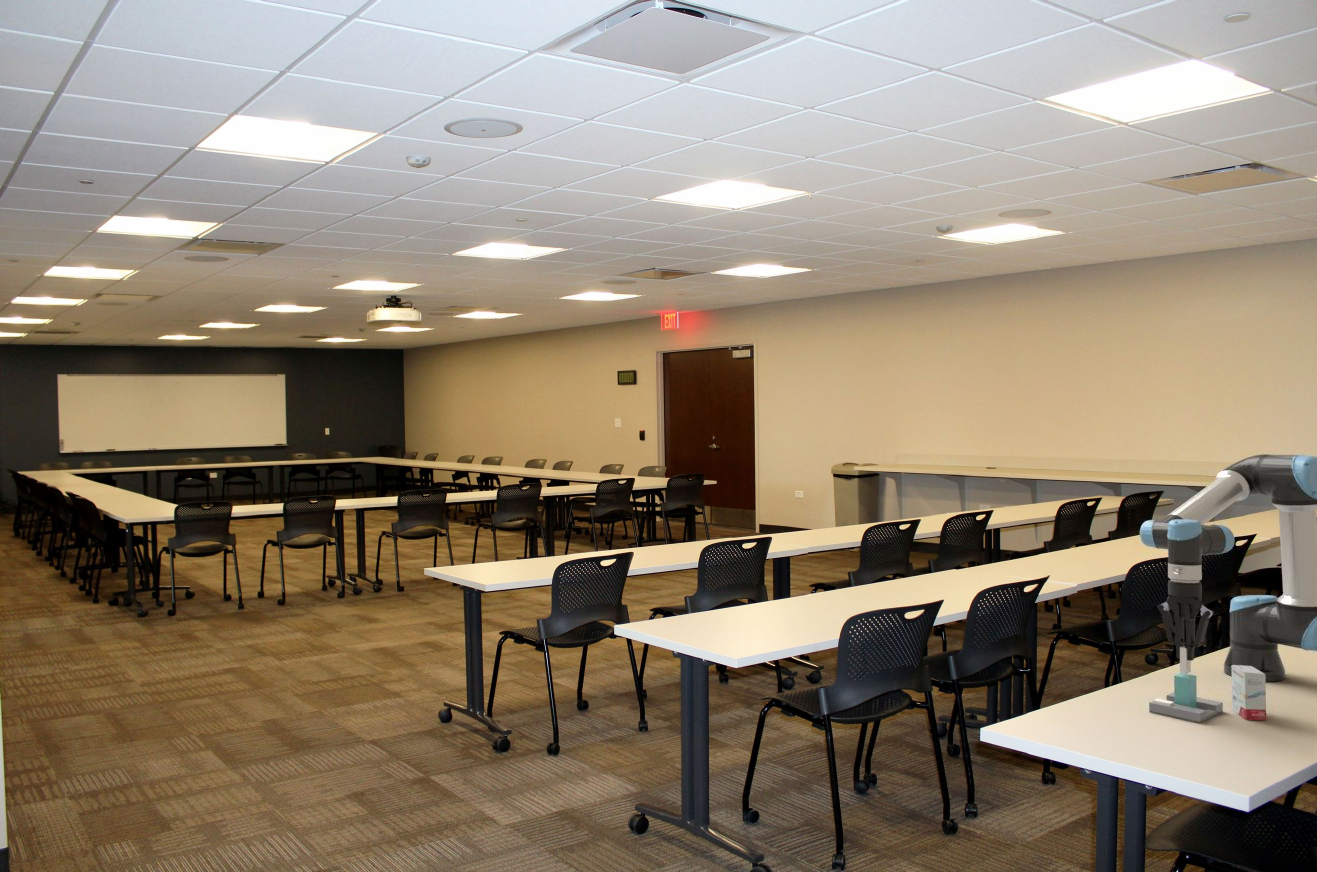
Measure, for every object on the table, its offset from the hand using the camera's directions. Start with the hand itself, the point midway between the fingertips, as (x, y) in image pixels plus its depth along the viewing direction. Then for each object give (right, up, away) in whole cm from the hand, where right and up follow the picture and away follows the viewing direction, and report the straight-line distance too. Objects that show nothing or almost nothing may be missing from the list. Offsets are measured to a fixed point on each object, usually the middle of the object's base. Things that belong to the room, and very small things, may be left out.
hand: (1185, 672), depth 237 cm
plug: (0, -10, 0) cm, 10 cm away
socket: (0, -10, 0) cm, 10 cm away
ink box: (+14, -10, -3) cm, 18 cm away
